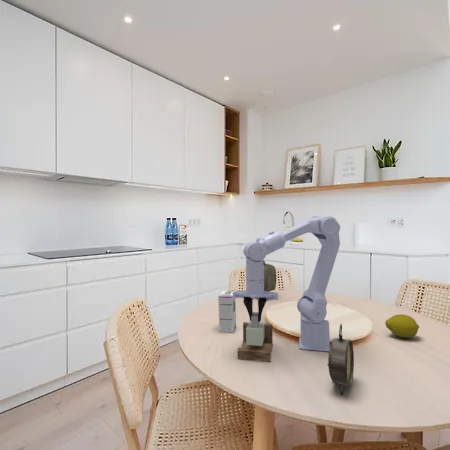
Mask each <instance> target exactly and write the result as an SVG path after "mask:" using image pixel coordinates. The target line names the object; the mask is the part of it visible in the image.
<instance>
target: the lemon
mask: <svg viewBox="0 0 450 450" xmlns="http://www.w3.org/2000/svg"><path fill="white" fill-rule="evenodd" d="M384 324H385V327H386V329H388V330H389V331H390V332H391V333H392V334H393V335H395V336H397V337H399V338H404V339H407V338H409V339H410V338H413V337H415V336H416V335H417V334H418V331H419V329H420V325H419V324H418V323H417V321H416V320H415V318H414V317H412V316H410V315H407V314H395V315H392V316H391V317H389V318H388V319H386V320H385V322H384Z"/></svg>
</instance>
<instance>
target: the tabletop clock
mask: <svg viewBox="0 0 450 450" xmlns="http://www.w3.org/2000/svg"><path fill="white" fill-rule="evenodd" d="M266 256H267V255H266ZM266 256H265V258H266ZM263 265H264V291H268V292H273V291H275V290H276V287H277V270H276V266H275V265H273V264H270V263H266V261H265V260H264V259H263Z"/></svg>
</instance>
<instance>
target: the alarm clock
mask: <svg viewBox="0 0 450 450" xmlns="http://www.w3.org/2000/svg"><path fill="white" fill-rule="evenodd" d="M354 353H355V352H354V345H353V341H352V340H351V339H347V338H343V324H342V323H340V324H339V331H338V337H335V338H333V339H332V340H331V341H330V348H329V351H328V357H327V358H328V363H327V366H328V373H329V377H330V380H331V382H332V383H333V382H334V383H335V384H339V385H340V395H342V396H343V395H344V389H345V386H347V387H350V386H352V383H353V378H354V370H355V368H354V367H355V357H354V355H355V354H354Z"/></svg>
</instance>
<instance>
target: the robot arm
mask: <svg viewBox="0 0 450 450" xmlns="http://www.w3.org/2000/svg"><path fill="white" fill-rule="evenodd" d="M340 230H341V225H340V224H339V222H338V220H337V219H336V218H335V217H333V216H318V215H314V216H312V217H309V218H306V219H305V220H302V221H301V222H298V223H296V224H294V225H293V226H291V227H289V228H288V229H286V230H284V231H282V232H280V231H278V230H277V231H276V230H275V231H274V230H270V231H269V232H268V234H267V235H265V236H262V237H257V238H256V239H255V240H256V241H250V242H248V243H246V244H245V246H244V248H243V250H242V251H243V255H244V256H245V286H246V287H245V288H246V289H245V290H232V291H233V298H235V299H237V298H239V299H243V304H244V306H245V308H246V311H247V313H248V317H249V321H251V316H252V314H253V312H254V311H253V305H254V304H253V301H254V299H255V300H257V299H258V300H257V308H258V309H257V310H258V311H257V312H258V322H262V313H263V310H264V308H265V305H266V303H267V300H274V301H278V299H279V292H273V291H269V292H268V291H264V265H263V260H264V259H266V257H265V256H268V255H270V254H272V253H274V252H276V251H278V250H280V249H282V248H284V247H285V245H286V242H288V241H291V240H292V239H295V238H298V237H300V236H302V235H304V234H307V233H309V234H312V235H313V236H314V237H315V238H317V240H318V241H319V244H320V245H321V248H320V250H319V255H318V258H317V260H316V263H315V267H314V268H313V269H314V270H313V273H312V276H311V279H310V282H309V286H308V288H307V289H306V290H305V291H303V293H302V296H301V297H300V298H299V299H298V301H297V304H296V308H297V310H298V312H299V313H300V319H299V320H300V322H299V323H300V337H299V338H298V343H299V349H300V350H307V351H308V350H309V351H317V352H329V348H330V344H331V338H330V337H331V336H330V334H331V333H330V331H331V330H330V323H329V320H327V319H326V317H327V313H328V312H327V305H328V301H327V298H326V296H325V295H326V291H327V287H328V285H329V281H330V277H331V275H332V271H333V268H334V265H335V262H336V259H337V256H338V252H339V249H340V246H341V241H340V240H341V239H340Z"/></svg>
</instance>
